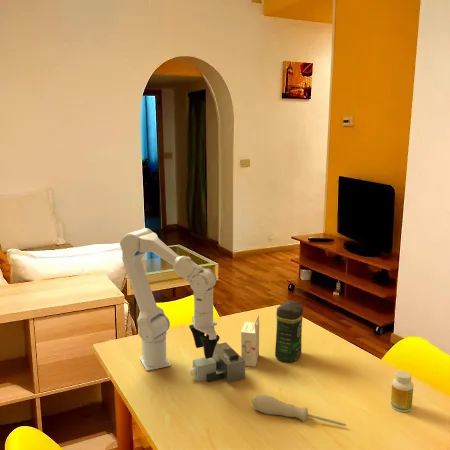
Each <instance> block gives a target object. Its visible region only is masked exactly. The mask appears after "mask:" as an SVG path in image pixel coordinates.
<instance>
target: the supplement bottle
mask: <svg viewBox="0 0 450 450" xmlns="http://www.w3.org/2000/svg"><path fill="white" fill-rule="evenodd" d="M413 396H414V384H413V382H412V374H411V373H410V372H409V371H405V370H398V371H396V372H395V377H394V379H393V380H392V382H391V396H390V406H391V408H392V409H393V410H394V411H397V412H400V413H408V412H410V411H411V410H412V408H413Z"/></svg>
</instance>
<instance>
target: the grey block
mask: <svg viewBox="0 0 450 450" xmlns="http://www.w3.org/2000/svg"><path fill="white" fill-rule="evenodd" d="M216 372H217V371H216V362H215V361H214V359H213V358H208V359H206V358H205V357H200V358H196V359H193V360H192V367H190V368H189V374H190V375H191V376H193V377H194V378H195V379H196V381H197V382H202V381H207V374H212V373H216Z"/></svg>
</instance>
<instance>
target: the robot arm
mask: <svg viewBox="0 0 450 450" xmlns="http://www.w3.org/2000/svg"><path fill="white" fill-rule="evenodd" d="M119 245H120V249H121V252H122V253H121V254H122V255H121V257H122V263H123V265H124V269H125V272H126V275H127V278H128V280H129V283H130V285H131V286H130V287H131V289H132V292H133V294H134V298H135V300H136V304H137V307H138V309H139V315H138V318H137V320H136V322H137V326H138V329H137V331H138V336H139V337H140V339H141V354H142V355H141V356H140V357H139V360H140V362H141V364H142V365H143V366H144V369H145V371H147V372H149V371H153V370H157V369H161V368H167V367H170V366H171V363H170V361H169V360H168V357H167V334H168V333H167V332H168V331H169V329H170V327H171V322H170V319H169V318H168V316H167V315H166V314H165V312H164V309H163V308H161V307H160V306H157V302H156V300H155V296H154V295H153V291H152V289H151V286H150V282H149V279H148V276H147V273H146V271H145V268H144V265H143V262H142V259H143V257H144V256H145V254H146V253H153V254H154V255H156V256H158V257H159V258H160V259H162V260H163V261H165V262H167V263H168V264H169V265H171V266H172V269H173V270H172V271H173V272H175V273H176V274H177V275H178V276H180V277H181V278H182V279H184V280H185V281H186V282H188V283H189V286H190V289H191V290H192V291H193V303H194V305H193V310H194V311H193V314H194V315H193V316H191V317H192V319H191V320H192V324H190V325H188V327H189V330H190V332H191V333H192V337H193V341H194V345H195V348H196V349H199V348H200V349H201V348H203V354H204V358H206V359H208V358H212V357H213V353H214V349H215V346H216V344H217V343H219V340H220V336H219V335H218V334H217V332H216V328H215V326H217V324H218V323H217V321H216V320H214V286H215V285H216V284H217V277H216V274H215V272H213V270H212V269H210V268H204V267H202V266H200V265H199V264H197V263H196V262H194V260H192V258H191V257H190V256H189V255H187V256H186V255H179V254H177V252H175V251H174V250H173V249H171V248H170V247H169V246H167V244H165V243H164V241H162V240H161V239H160V238H159V237H158V234H157V233H156V232H153V231H152V230H151V229H150V228H147V227H145V228H144V227H143V228H142V229H140V230H135V231H132V232H127V233H126V234H124V235H123V236H122V238H121V239H120V242H119Z"/></svg>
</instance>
